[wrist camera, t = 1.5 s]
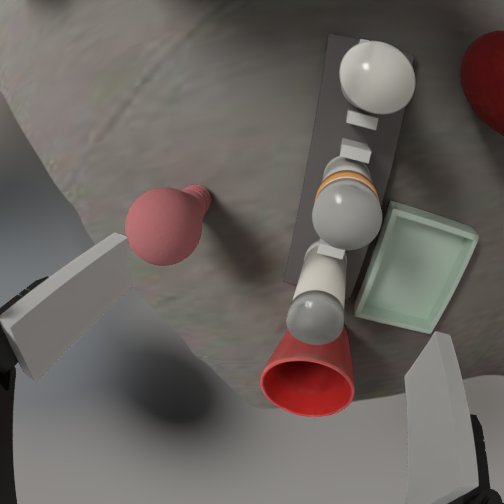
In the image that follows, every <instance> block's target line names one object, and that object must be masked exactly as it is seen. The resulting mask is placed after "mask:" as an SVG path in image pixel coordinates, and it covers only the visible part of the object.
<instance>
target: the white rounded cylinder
mask: <svg viewBox="0 0 504 504" xmlns="http://www.w3.org/2000/svg"><path fill="white" fill-rule="evenodd" d="M339 76H340V82H341V89H342V92H343V95H344V97H345V98H346V99H347V101H348V102H349V103H350V104H352V105H353V106H355V107H357V108H359V109H362V110H365V111H367V112H370V113H374V114H391V113H394V112H397V111H399V110H401V109H402V108H404V107H405V106H406V105H407V104H408V103H409V101H410V100H411V98H412V96H413V94H414V91H415V85H416V80H415V74H414V70H413V68H412V65H411V64H410V62H409V60H408V59H407V58H406V56H405V55H404V54H403V53H402V52H401V51H399V50H398V49H397V48H395V47H393V46H391V45H389V44H387V43H384V42H379V41H366V42H362V43H359V44H357V45H355V46H353V47H352V48H351V49H350V50H348V51H347V53H346V54H345V55H344V57H343V59H342V61H341V64H340V70H339Z"/></svg>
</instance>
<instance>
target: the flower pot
mask: <svg viewBox="0 0 504 504" xmlns="http://www.w3.org/2000/svg"><path fill="white" fill-rule="evenodd" d="M260 385H261V389H262V391H263V393H264V395H265V396H266V397H267V398H268V399H269V400H270V401H271V402H272V403H273V404H274V405H276V406H277V407H279V408H281V409H283V410H285V411H288V412H290V413H293V414H296V415H301V416H307V417H321V416H328V415H332V414H335V413H338V412H339V411H341V410H343V409H345V408H346V407H347V406H348V405H349V404H350V403H351V402H352V400H353V398H354V395H355V383H354V373H353V364H352V356H351V349H350V343H349V339H348V334H347V330H346V328H345V326H344V325H343V330H342V332H341V334H340V335H339V336H338V337H337V338H336V339H335V340H334V341H332V342H330V343H327V344H322V345H312V344H307V343H304V342H302V341H300V340H298V339H297V338H295V337H294V336H293V335H292V334H291V333H290V331H289V330H288V331H287V332H286V334H285V336H284V337H283V339H282V340H281V342H280V343H279V345H278V347H277V348H276V350H275V351H274V353H273V355H272V356H271V358H270V359H269V361H268V363H267V364H266V366H265V368H264V370H263V372H262V374H261V378H260Z"/></svg>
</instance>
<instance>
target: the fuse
mask: <svg viewBox="0 0 504 504" xmlns="http://www.w3.org/2000/svg"><path fill="white" fill-rule="evenodd" d="M319 241H320V239H318V240H315V241H314V242H312V243H311V244H310V245H309V247H308V249H307V251H306V254H305V258H304V263H303V267H302V270H301V274H300V277H299V281H298V284H297V287H296V291H295V294H294V297H293V301H292V303H291V305H290V308H289V312H288V315H287V319H286V323H287V327H288V330H289V331H290V333H291V334H292V335H293V336H294V337H295V338H297V339H298V340H300V341H302V342H304V343H307V344H312V345H322V344H327V343H330V342H332V341H334V340H335V339H336V338H337V337H338V336H339V335H340V334H341V332H342V330H343V325H344V303H345V286H346V268H347V252H346V250H345V252H344V256H343V259H338V258H334V257H331V256H327V255H323V254H319V253H317V250H318V246H319Z"/></svg>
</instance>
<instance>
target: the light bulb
mask: <svg viewBox="0 0 504 504" xmlns="http://www.w3.org/2000/svg"><path fill="white" fill-rule="evenodd" d="M210 205H211V197H210V194H209V192H208V191H207V189H206V188H204V187H203V186H201V185H197V184H194V185H190V186H188V187H186V188H184V189H183V190H177V189H173V188H156V189H152V190H150V191H147V192H145V193H144V194H142V195H141V196H140V197H138V198H137V199H136V201H135V202H134V203H133V204H132V206H131V207H130V209H129V212H128V214H127V217H126V222H125V232H126V237H128V243H129V245H130V247H131V248H132V250H133V251H134V252H135V254H136V255H137V256H138V257H140V258H141V259H143V260H144V261H146V262H148V263H150V264H154V265H159V266H167V265H173V264H176V263H178V262H181V261H182V260H184V259H185V258H187V257H188V256H189V255H190V254H191V253H192V252H193V251H194V249H195V248H196V246H197V244H198V243H199V240H200V237H201V233H202V220H203V218H204V216H205V213H206V211H207V210H208V209H209V207H210Z"/></svg>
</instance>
